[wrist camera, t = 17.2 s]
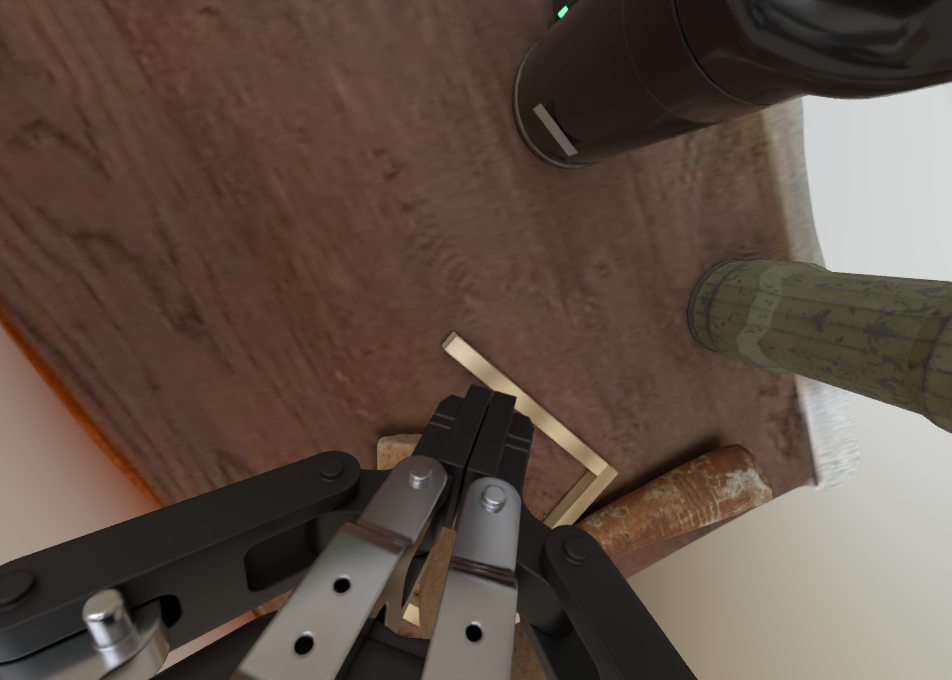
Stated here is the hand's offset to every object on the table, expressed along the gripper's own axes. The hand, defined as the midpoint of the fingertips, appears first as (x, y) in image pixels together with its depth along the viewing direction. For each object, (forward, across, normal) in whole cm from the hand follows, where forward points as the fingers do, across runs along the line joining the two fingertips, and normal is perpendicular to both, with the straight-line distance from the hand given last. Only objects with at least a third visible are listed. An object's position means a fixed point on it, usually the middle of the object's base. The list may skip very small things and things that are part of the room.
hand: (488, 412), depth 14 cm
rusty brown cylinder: (+24, -16, +23) cm, 37 cm away
